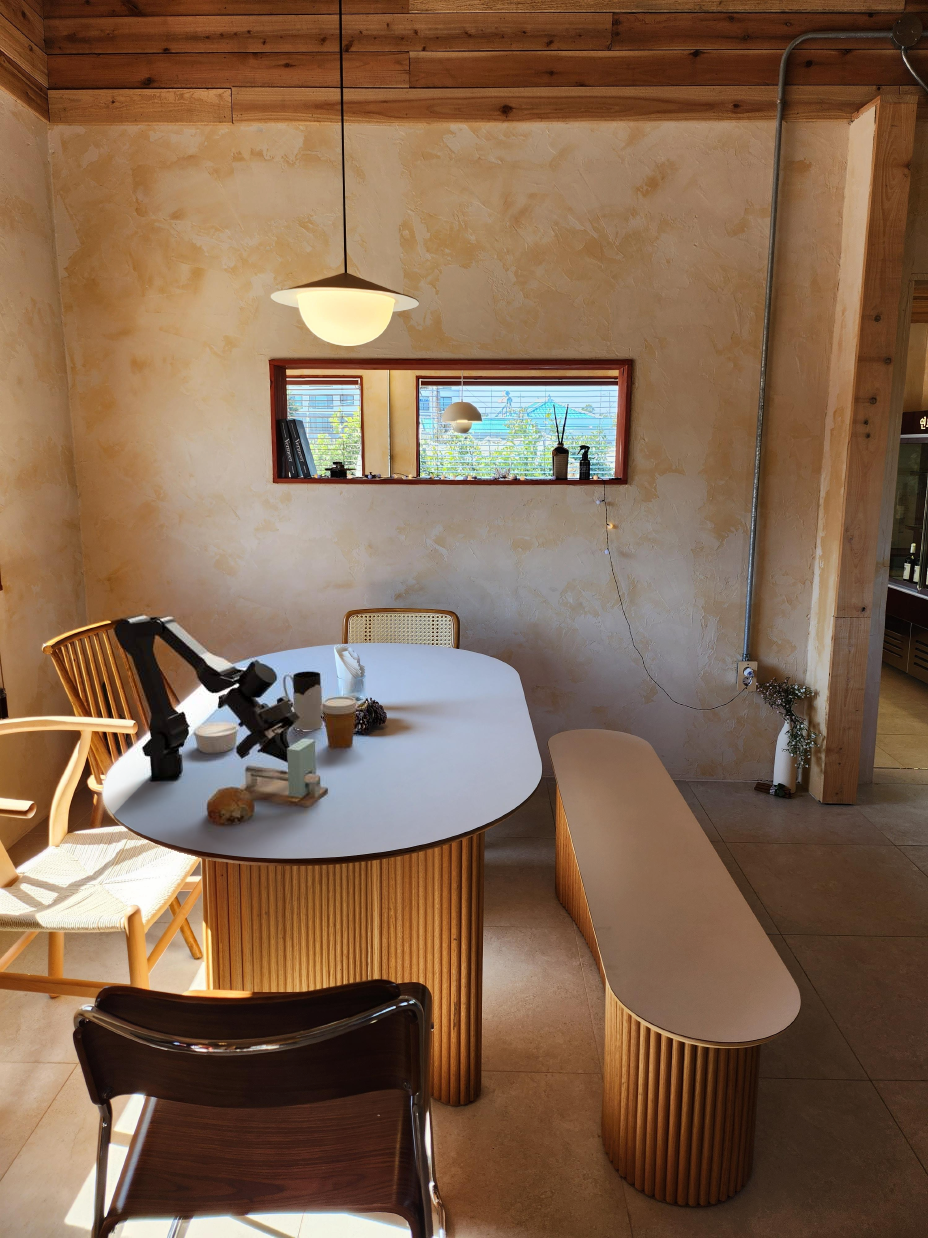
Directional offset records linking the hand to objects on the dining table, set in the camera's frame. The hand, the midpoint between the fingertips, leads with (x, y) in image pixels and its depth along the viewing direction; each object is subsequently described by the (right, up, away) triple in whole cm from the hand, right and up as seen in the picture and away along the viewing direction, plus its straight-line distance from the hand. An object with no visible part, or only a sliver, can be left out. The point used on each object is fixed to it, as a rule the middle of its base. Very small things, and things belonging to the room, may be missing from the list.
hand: (293, 762), depth 186 cm
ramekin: (-27, -2, +32) cm, 42 cm away
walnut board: (-3, -8, +3) cm, 9 cm away
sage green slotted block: (+2, -6, +1) cm, 7 cm away
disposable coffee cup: (+6, -1, +34) cm, 35 cm away
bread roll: (-12, -10, -9) cm, 18 cm away
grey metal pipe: (-3, -7, +2) cm, 8 cm away
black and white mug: (-8, +2, +51) cm, 51 cm away
